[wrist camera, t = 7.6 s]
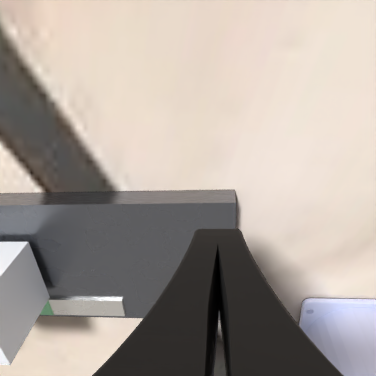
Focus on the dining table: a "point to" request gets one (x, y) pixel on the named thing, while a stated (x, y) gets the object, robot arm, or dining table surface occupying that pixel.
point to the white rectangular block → (18, 297)
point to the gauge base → (110, 243)
